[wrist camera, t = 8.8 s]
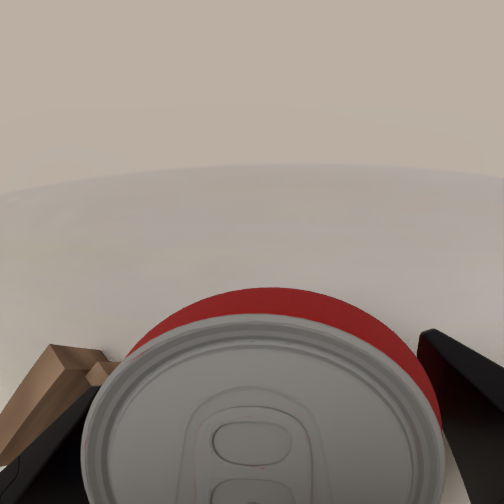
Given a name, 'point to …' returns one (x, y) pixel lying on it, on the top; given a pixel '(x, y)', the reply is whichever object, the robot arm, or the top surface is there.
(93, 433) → the beverage can
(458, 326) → the top surface
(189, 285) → the top surface
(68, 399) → the can cradle
